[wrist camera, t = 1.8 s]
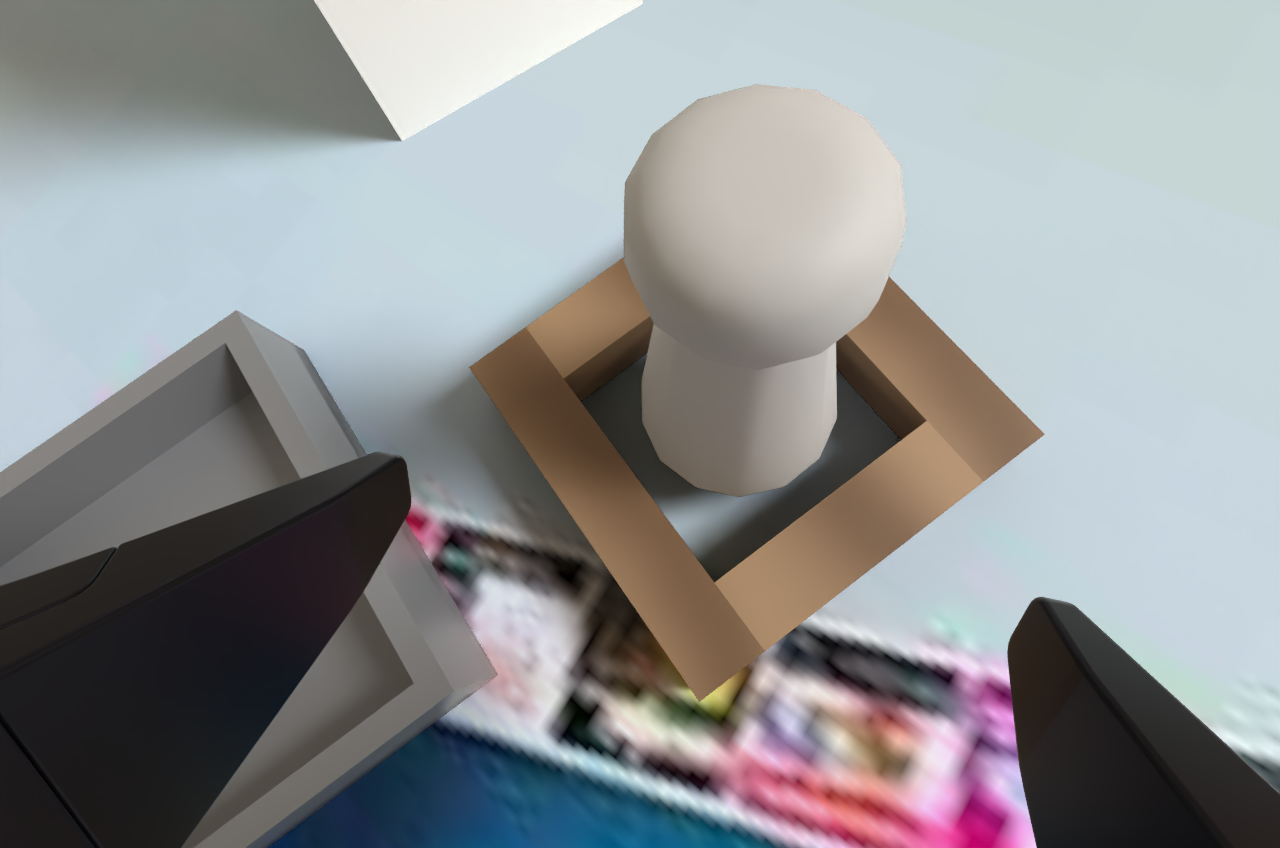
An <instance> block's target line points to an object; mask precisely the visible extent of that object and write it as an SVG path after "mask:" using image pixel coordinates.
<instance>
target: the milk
mask: <svg viewBox="0 0 1280 848" xmlns="http://www.w3.org/2000/svg"><path fill="white" fill-rule="evenodd" d="M314 1H315V3H316V4H317V6H318V7H319V9H320V11H321V12H322V14H323V15H324V17H325V19H326V20H327V22H328V23H329V25H330V27H331V28H332V30H333V31H334V33H335V35H336V36H337V38H338V39H339V41H340V43H341V44H342V46H343V47H344V49H345V51H346V52H347V54H348V55H349V57H350V59H351V60H352V62H353V63H354V65H355V67H356V68H357V70H358V71H359V73H360V75H361V76H362V78H363V79H364V81H365V83H366V84H367V86H368V87H369V89H370V91H371V92H372V94H373V95H374V97H375V99H376V100H377V102H378V103H379V105H380V107H381V108H382V110H383V111H384V113H385V115H386V116H387V118H388V119H389V121H390V123H391V124H392V126H393V127H394V129H395V130H396V132H397V134H398V135H399V137H400V138H401V140H402V141H403V140H405V139H407V138H408V137H410V136H412V135H414V134H415V133H417V132H419V131H421V130H422V129H424V128H426V127H428V126H429V125H431V124H433V123H435V122H436V121H438V120H440V119H442V118H443V117H445V116H447V115H449V114H450V113H452V112H454V111H456V110H457V109H459V108H461V107H463V106H464V105H466V104H468V103H470V102H472V101H473V100H475V99H477V98H479V97H480V96H482V95H484V94H486V93H487V92H489V91H491V90H493V89H494V88H496V87H498V86H500V85H501V84H503V83H505V82H507V81H508V80H510V79H512V78H514V77H515V76H517V75H519V74H521V73H522V72H524V71H526V70H528V69H529V68H531V67H533V66H535V65H536V64H538V63H540V62H542V61H543V60H545V59H547V58H549V57H550V56H552V55H554V54H556V53H557V52H559V51H561V50H563V49H564V48H566V47H568V46H570V45H571V44H573V43H575V42H577V41H578V40H580V39H582V38H584V37H585V36H587V35H589V34H591V33H592V32H594V31H596V30H598V29H599V28H601V27H603V26H605V25H606V24H608V23H610V22H612V21H613V20H615V19H617V18H619V17H620V16H622V15H624V14H626V13H627V12H629V11H631V10H633V9H634V8H636V7H638V6H640V5H641V4H643V0H314Z"/></svg>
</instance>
